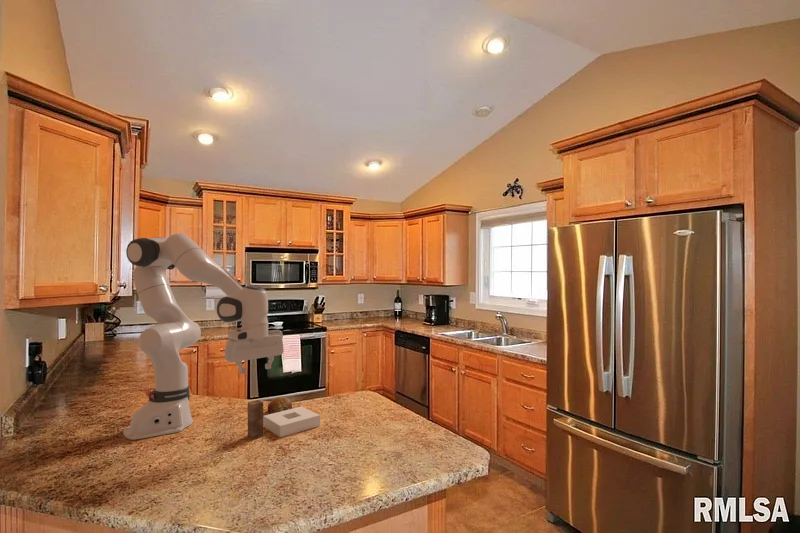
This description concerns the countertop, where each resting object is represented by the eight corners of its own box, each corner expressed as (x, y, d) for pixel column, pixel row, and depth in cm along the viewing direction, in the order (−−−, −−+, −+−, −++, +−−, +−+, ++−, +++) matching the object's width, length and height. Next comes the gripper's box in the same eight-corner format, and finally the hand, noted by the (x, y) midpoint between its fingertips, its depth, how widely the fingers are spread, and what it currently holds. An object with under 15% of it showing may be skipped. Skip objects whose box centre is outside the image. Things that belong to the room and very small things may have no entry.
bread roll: (294, 418, 176) (296, 398, 180) (286, 415, 167) (289, 395, 171) (271, 417, 177) (274, 398, 181) (262, 415, 168) (265, 394, 172)
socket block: (280, 437, 147) (280, 425, 147) (263, 426, 158) (263, 415, 158) (320, 425, 158) (320, 415, 158) (301, 416, 168) (301, 406, 168)
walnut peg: (252, 439, 146) (252, 404, 146) (247, 436, 149) (247, 402, 149) (263, 436, 148) (263, 402, 148) (258, 433, 151) (258, 399, 151)
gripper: (278, 328, 158) (278, 364, 158) (223, 334, 144) (223, 374, 144) (286, 329, 153) (286, 367, 153) (229, 336, 140) (229, 377, 140)
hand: (255, 371), depth 149 cm, fingers open, 8 cm apart
